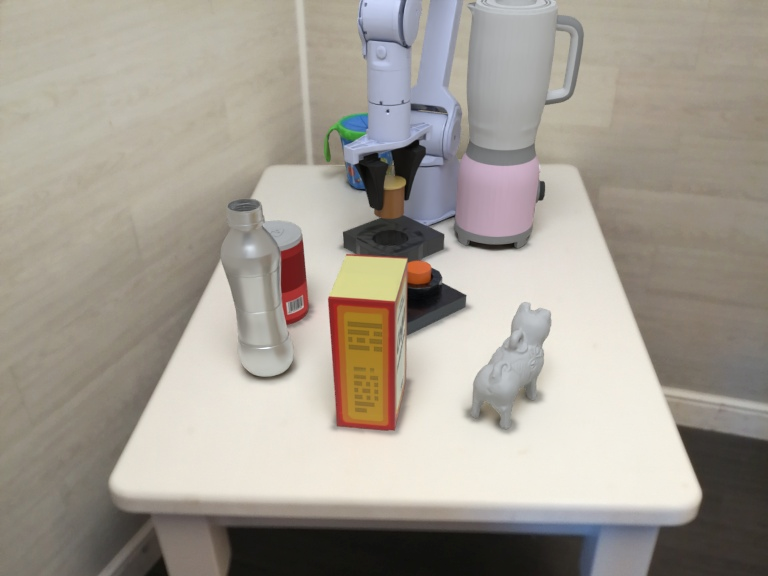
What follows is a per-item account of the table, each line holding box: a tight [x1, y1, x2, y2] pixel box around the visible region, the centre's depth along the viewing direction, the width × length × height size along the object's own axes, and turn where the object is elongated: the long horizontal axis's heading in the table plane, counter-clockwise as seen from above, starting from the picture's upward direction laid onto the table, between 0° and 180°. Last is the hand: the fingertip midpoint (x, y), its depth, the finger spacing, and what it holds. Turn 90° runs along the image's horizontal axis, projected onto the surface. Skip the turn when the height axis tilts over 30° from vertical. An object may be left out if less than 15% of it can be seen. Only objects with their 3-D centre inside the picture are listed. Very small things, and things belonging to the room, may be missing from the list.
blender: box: [453, 0, 585, 249], centre depth 103 cm, size 16×12×32 cm
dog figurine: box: [470, 301, 552, 430], centre depth 80 cm, size 5×13×11 cm, turn 148°
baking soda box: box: [327, 253, 408, 432], centre depth 78 cm, size 10×6×16 cm
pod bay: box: [342, 215, 445, 263], centre depth 110 cm, size 12×12×2 cm
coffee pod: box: [373, 174, 406, 219], centre depth 104 cm, size 5×5×4 cm
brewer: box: [407, 266, 467, 337], centre depth 98 cm, size 11×10×4 cm
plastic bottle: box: [219, 197, 295, 378], centre depth 82 cm, size 6×7×20 cm
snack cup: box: [323, 112, 394, 190], centre depth 126 cm, size 16×10×10 cm
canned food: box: [263, 220, 310, 326], centre depth 94 cm, size 8×8×11 cm
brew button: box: [407, 260, 432, 284], centre depth 97 cm, size 4×4×2 cm
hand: (389, 203), depth 105 cm, fingers closed on coffee pod, 4 cm apart
